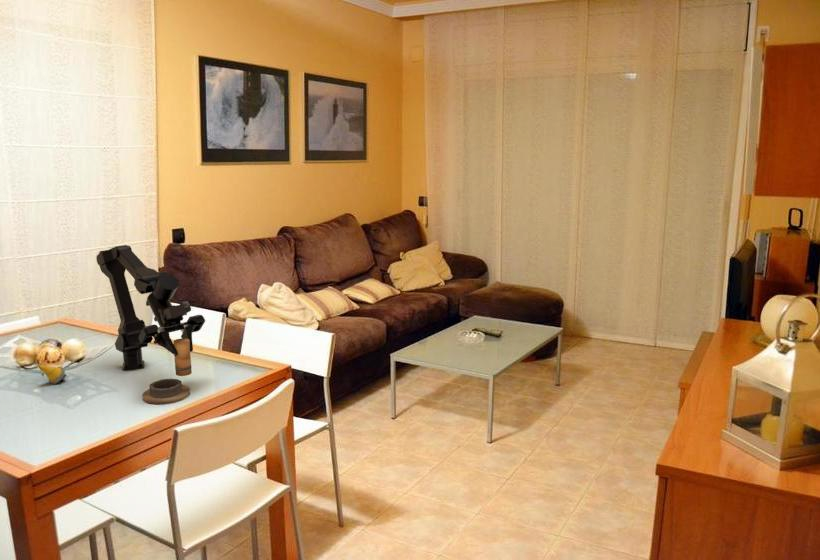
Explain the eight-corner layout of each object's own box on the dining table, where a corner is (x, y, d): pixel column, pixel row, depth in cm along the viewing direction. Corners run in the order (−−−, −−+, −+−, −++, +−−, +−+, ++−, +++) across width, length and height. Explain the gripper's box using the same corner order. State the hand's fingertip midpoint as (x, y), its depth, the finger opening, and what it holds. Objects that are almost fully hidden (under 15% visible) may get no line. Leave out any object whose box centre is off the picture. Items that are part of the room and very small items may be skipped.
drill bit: (70, 384, 208) (43, 369, 200) (57, 390, 209) (29, 375, 202) (73, 369, 211) (47, 354, 204) (60, 375, 212) (34, 360, 205)
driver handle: (177, 370, 200) (174, 338, 198) (192, 370, 201) (190, 338, 199) (174, 376, 196) (171, 343, 194) (190, 375, 197) (188, 342, 195)
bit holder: (143, 390, 201) (142, 379, 200) (189, 385, 205) (188, 374, 205) (141, 407, 189) (140, 395, 188) (190, 400, 193) (189, 389, 193)
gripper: (139, 299, 189) (162, 346, 185) (200, 288, 203) (222, 331, 198) (129, 321, 196) (150, 366, 191) (188, 308, 210) (209, 350, 205)
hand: (184, 353), depth 196 cm, fingers closed on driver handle, 4 cm apart
